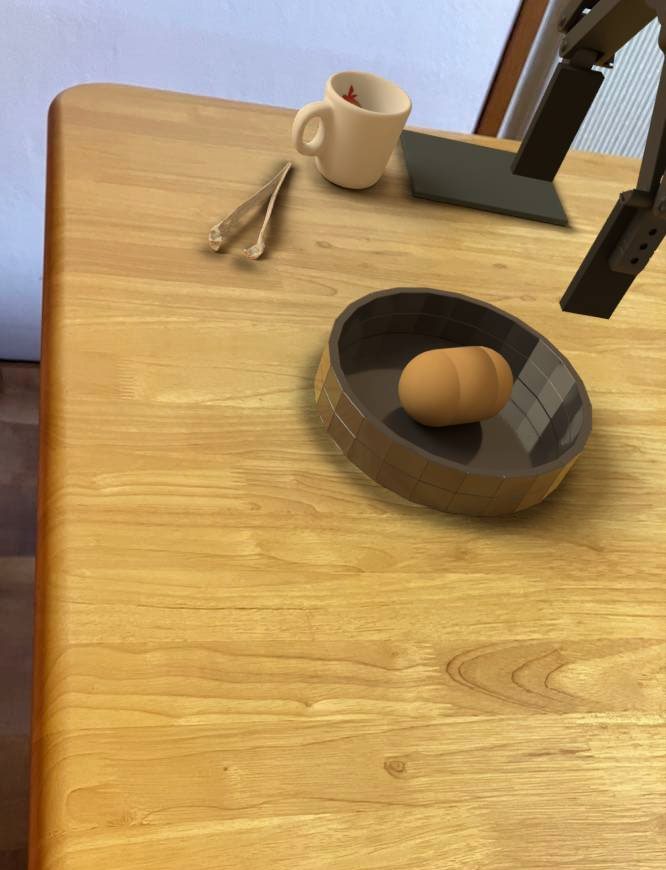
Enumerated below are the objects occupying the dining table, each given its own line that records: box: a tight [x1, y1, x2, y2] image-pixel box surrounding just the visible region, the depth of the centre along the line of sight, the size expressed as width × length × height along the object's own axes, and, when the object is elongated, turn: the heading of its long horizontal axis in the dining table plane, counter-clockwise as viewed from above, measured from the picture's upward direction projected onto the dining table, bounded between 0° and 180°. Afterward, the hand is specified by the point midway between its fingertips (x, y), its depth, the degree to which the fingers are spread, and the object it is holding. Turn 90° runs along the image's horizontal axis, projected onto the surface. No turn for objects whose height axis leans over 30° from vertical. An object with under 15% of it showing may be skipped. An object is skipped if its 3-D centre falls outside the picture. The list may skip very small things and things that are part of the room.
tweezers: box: [208, 161, 293, 260], centre depth 78 cm, size 17×5×2 cm, turn 162°
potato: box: [398, 346, 513, 427], centre depth 63 cm, size 9×5×5 cm, turn 111°
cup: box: [291, 70, 413, 190], centre depth 81 cm, size 11×8×8 cm
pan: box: [313, 286, 593, 517], centre depth 64 cm, size 19×19×4 cm
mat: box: [399, 128, 569, 227], centre depth 90 cm, size 16×12×1 cm
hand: (554, 238), depth 51 cm, fingers open, 13 cm apart
